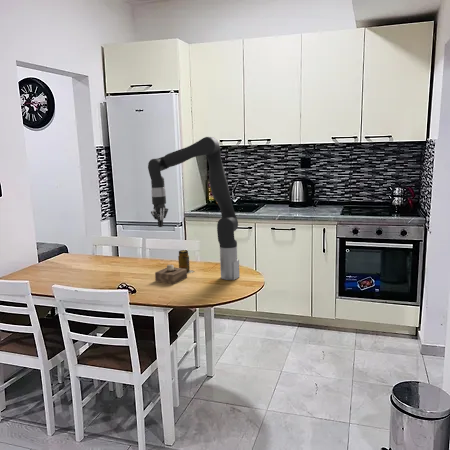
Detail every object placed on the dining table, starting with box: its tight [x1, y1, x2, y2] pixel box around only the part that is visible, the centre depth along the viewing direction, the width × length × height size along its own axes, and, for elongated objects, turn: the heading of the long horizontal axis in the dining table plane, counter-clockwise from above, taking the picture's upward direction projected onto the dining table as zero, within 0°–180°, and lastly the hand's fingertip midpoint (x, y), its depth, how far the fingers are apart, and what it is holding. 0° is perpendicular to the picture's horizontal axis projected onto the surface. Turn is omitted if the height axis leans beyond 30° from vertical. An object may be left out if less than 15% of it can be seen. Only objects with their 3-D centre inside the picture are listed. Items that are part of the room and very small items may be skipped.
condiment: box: [177, 249, 195, 274], centre depth 243 cm, size 7×8×12 cm
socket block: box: [154, 266, 188, 285], centre depth 230 cm, size 12×12×5 cm
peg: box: [166, 264, 175, 272], centre depth 229 cm, size 4×4×8 cm
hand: (160, 226), depth 237 cm, fingers closed
